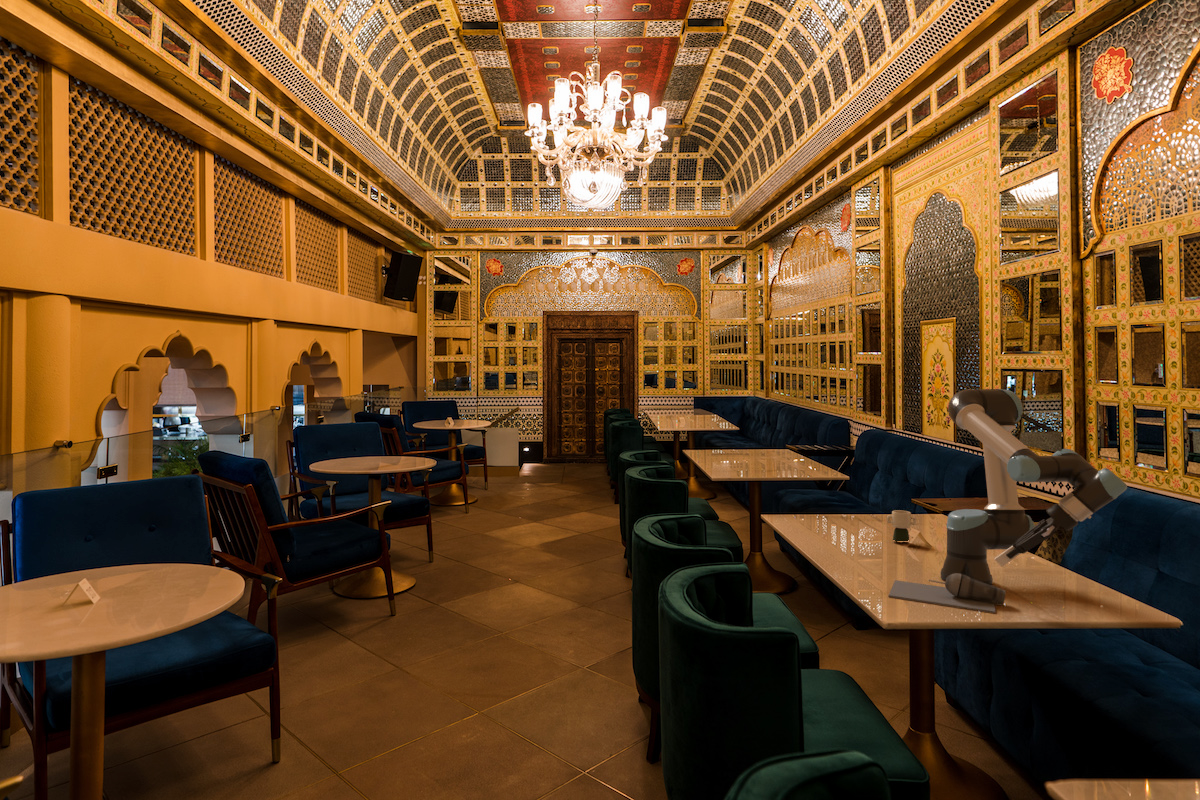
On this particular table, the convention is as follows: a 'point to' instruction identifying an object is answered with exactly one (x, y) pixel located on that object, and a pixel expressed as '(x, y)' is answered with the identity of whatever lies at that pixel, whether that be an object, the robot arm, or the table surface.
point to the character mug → (901, 524)
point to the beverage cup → (973, 589)
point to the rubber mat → (936, 596)
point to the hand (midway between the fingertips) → (998, 562)
